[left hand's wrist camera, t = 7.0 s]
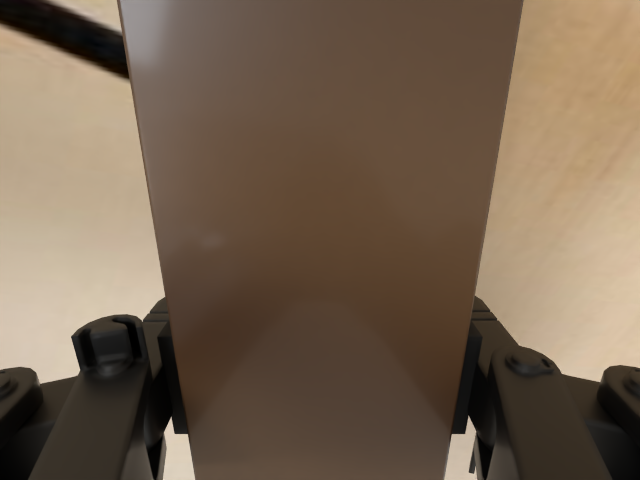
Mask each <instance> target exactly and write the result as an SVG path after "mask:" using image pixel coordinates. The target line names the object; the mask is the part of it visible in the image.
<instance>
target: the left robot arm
mask: <svg viewBox="0 0 640 480" xmlns="http://www.w3.org/2000/svg"><path fill="white" fill-rule="evenodd" d="M71 338H72V342H73V345H74V349H75V352H76V356H77V359H78V363H79V367H80V372H79V374H78V376H75V377H71V378H67V379H62V380H57V381H52V382H47V383H42V384H40V383H39V380H38V377H37V374H36V372H35V371H33V370H32V369H31V368H24V367H16V368H8V369H3V370H0V480H163V473H164V465H165V456H166V441H165V436H164V431H165V429H166V427H167V424H168V422H169V420H170V418H171V416H172V422H173V427H174V433H175V434H188V431H187V425H186V419H185V413H184V407H183V401H182V394H181V388H180V382H179V376H178V370H177V364H176V358H175V352H174V346H173V339H172V333H171V327H170V321H169V315H168V309H167V303H166V297H164V298H163V299H161V300H160V301H158V302H157V303H156V305H155V306H154V307H153V308H152V309H151V311H150V314H147V316H146V317H145V318H144V319H143V322H142V320H140V319H139V318H138V317H137V316H132V315H127V314H124V315H112V316H107V317H103V318H100V319H97V320H95V321H92V322H89V323H88V324H86V325H84V326H83V327H81V328H79V329H78V330H77V331H76V332H75V333H74V334H73V335H72V336H71ZM468 415H469V417H470V419H471V421H472V423H473V425H474V427H475V429H476V436H475V441H474V446H473V451H472V456H471V461H470V467H469V473H473V474H474V471H475V466H476V472H477V480H640V368H637V367H630V366H623V365H618V366H610V367H609V368H607V369H606V370H605V371H604V373H603V376H602V379H601V382H596V381H591V380H586V379H581V378H577V377H572V376H567V375H564V374H561V372H560V370H559V368H558V367H557V366H556V364H555V363H554V362H553V361H552V360H550V359H549V358H548V357H546V356H545V355H543V354H541V353H539V352H537V351H535V350H532V349H530V348H526V347H522V346H519V345H518V344H517V343H516V341H515V340H514V339H513V338H512V336H511V335H510V334H509V333H508V332H507V330H506V329H505V328H504V327H503V325H502V324H501V323H500V322H499V321H497V318H496V317H495V316H494V314H493V313H492V312H490V309H489V308H488V307H487V306H486V305H485V303H484V302H483V301H482V300H481V299H479V298H478V297H476V296H474V302H473V308H472V314H471V320H470V326H469V332H468V338H467V344H466V350H465V356H464V362H463V369H462V375H461V381H460V387H459V393H458V399H457V405H456V411H455V417H454V423H453V429H452V434H465V431H466V426H467V420H468Z"/></svg>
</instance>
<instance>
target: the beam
mask: <svg viewBox="0 0 640 480" xmlns="http://www.w3.org/2000/svg"><path fill="white" fill-rule="evenodd" d="M117 4H118V10H119V16H120V22H121V28H122V34H123V40H124V46H125V52H126V59H127V65H128V71H129V77H130V83H131V89H132V95H133V101H134V107H135V114H136V120H137V126H138V132H139V138H140V144H141V150H142V156H143V162H144V168H145V175H146V181H147V187H148V193H149V199H150V205H151V211H152V217H153V223H154V230H155V236H156V242H157V248H158V254H159V260H160V266H161V272H162V278H163V285H164V291H165V297H166V303H167V309H168V315H169V321H170V327H171V333H172V339H173V346H174V352H175V358H176V364H177V370H178V376H179V382H180V388H181V394H182V401H183V407H184V413H185V419H186V425H187V431H188V437H189V443H190V449H191V456H192V462H193V468H194V474H195V480H444V477H445V471H446V465H447V459H448V453H449V447H450V441H451V435H452V429H453V423H454V417H455V411H456V405H457V399H458V393H459V387H460V381H461V375H462V369H463V362H464V356H465V350H466V344H467V338H468V332H469V326H470V320H471V314H472V308H473V302H474V296H475V290H476V284H477V278H478V272H479V266H480V260H481V254H482V248H483V242H484V236H485V230H486V224H487V218H488V212H489V205H490V199H491V193H492V187H493V181H494V175H495V169H496V163H497V157H498V151H499V145H500V139H501V133H502V127H503V121H504V115H505V109H506V103H507V97H508V91H509V85H510V79H511V73H512V67H513V61H514V55H515V48H516V42H517V36H518V30H519V24H520V18H521V12H522V6H523V0H117Z"/></svg>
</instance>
